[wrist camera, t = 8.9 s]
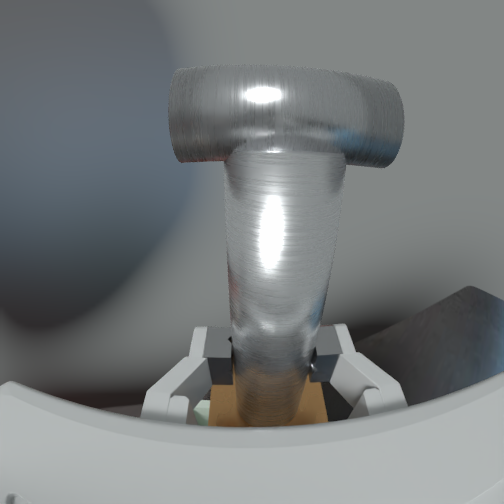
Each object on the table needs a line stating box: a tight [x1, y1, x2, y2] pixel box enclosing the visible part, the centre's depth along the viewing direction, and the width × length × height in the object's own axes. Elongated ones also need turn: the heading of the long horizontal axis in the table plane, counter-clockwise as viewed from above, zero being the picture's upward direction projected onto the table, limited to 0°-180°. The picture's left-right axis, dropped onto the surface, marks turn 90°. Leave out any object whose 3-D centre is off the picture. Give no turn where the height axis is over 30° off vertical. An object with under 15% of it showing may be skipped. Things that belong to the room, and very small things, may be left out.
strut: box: [168, 65, 404, 427], centre depth 11 cm, size 6×6×21 cm
